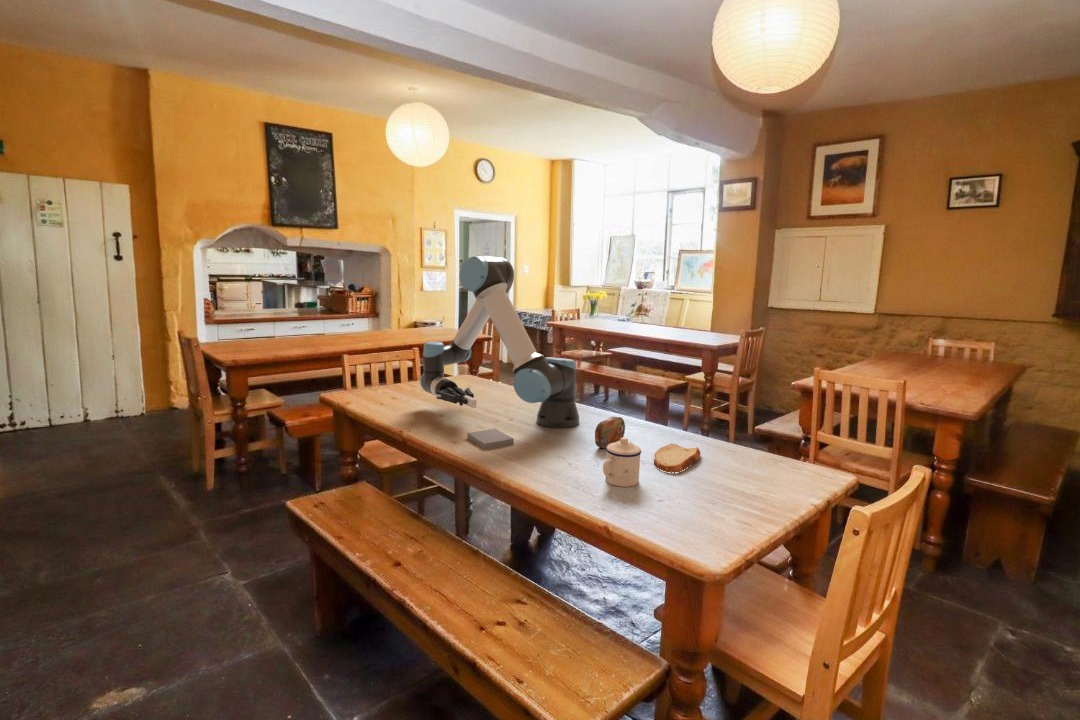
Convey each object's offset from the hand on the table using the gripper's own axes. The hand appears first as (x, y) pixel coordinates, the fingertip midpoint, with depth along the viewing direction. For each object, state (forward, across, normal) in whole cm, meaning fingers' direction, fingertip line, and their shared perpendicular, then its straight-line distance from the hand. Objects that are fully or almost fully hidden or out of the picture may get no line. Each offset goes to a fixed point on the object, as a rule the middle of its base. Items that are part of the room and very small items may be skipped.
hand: (474, 403), depth 183 cm
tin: (+32, -31, -10) cm, 46 cm away
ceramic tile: (+5, 0, -9) cm, 10 cm away
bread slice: (+53, -39, -10) cm, 67 cm away
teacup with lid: (+57, -13, -10) cm, 59 cm away
